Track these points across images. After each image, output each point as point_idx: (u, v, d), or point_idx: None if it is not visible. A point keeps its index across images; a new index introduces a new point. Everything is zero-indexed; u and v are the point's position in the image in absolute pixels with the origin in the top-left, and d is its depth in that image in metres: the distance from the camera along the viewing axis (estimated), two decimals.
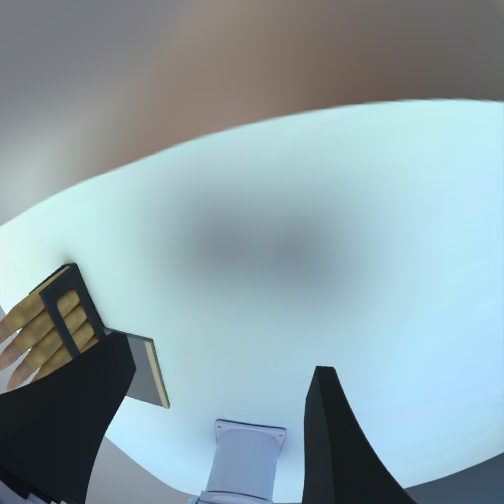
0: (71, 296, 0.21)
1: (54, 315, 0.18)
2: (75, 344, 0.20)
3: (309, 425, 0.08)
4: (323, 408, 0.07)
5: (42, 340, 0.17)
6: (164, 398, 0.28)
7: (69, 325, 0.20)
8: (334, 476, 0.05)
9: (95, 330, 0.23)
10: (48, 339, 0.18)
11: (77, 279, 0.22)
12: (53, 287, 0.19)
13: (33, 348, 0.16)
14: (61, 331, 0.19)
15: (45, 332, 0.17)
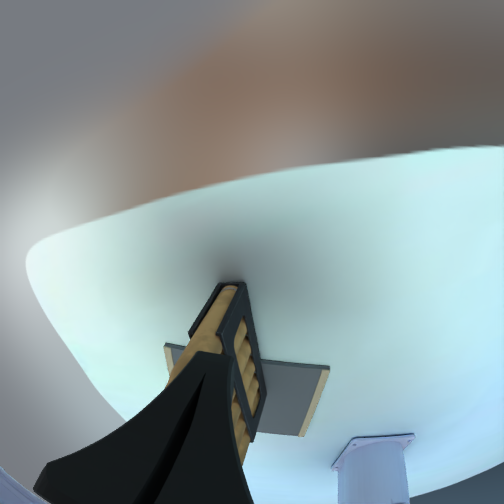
0: (240, 328, 0.17)
1: None
2: (245, 392, 0.16)
3: None
4: (200, 392, 0.07)
5: None
6: (307, 426, 0.24)
7: (240, 369, 0.16)
8: (179, 457, 0.05)
9: (256, 367, 0.19)
10: None
11: (246, 304, 0.18)
12: (231, 321, 0.15)
13: None
14: (235, 380, 0.15)
15: None
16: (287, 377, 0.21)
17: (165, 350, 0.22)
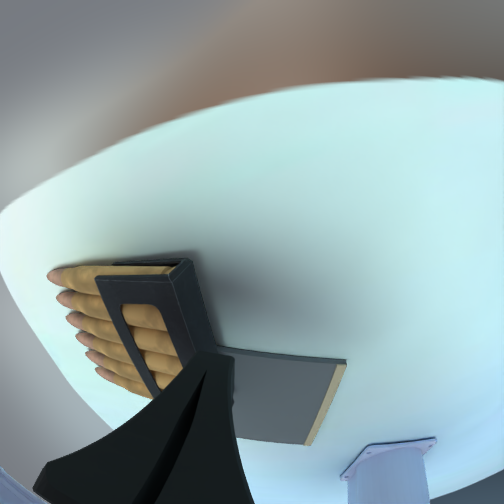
0: (154, 316, 0.13)
1: (113, 314, 0.14)
2: (144, 362, 0.15)
3: None
4: (200, 393, 0.07)
5: (106, 320, 0.16)
6: (315, 434, 0.19)
7: (141, 341, 0.14)
8: (179, 457, 0.05)
9: None
10: (109, 326, 0.15)
11: (168, 303, 0.12)
12: (114, 285, 0.13)
13: None
14: (125, 336, 0.15)
15: (102, 318, 0.15)
16: (291, 375, 0.16)
17: None
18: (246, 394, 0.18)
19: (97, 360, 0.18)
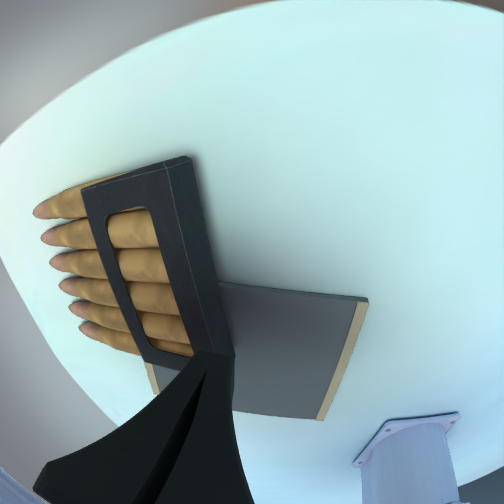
0: (143, 224, 0.11)
1: (97, 233, 0.12)
2: (129, 297, 0.13)
3: None
4: (200, 393, 0.07)
5: (90, 252, 0.14)
6: (329, 404, 0.17)
7: (126, 266, 0.12)
8: (179, 457, 0.05)
9: (183, 313, 0.12)
10: (93, 257, 0.13)
11: (160, 199, 0.10)
12: (101, 190, 0.11)
13: (81, 251, 0.14)
14: (109, 263, 0.13)
15: (86, 246, 0.13)
16: (304, 318, 0.15)
17: None
18: (250, 348, 0.16)
19: (80, 311, 0.16)
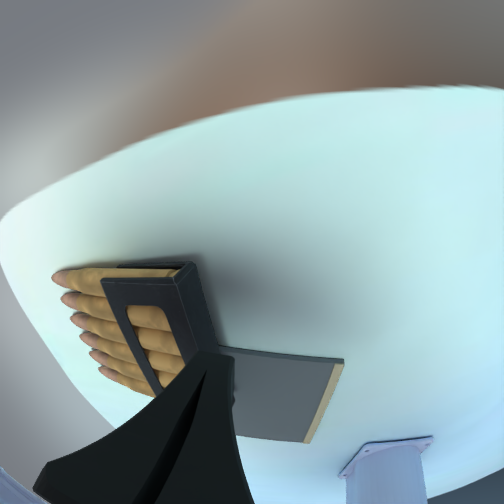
0: (159, 317, 0.14)
1: (118, 315, 0.14)
2: (147, 361, 0.16)
3: None
4: (200, 393, 0.07)
5: (110, 321, 0.16)
6: (314, 432, 0.20)
7: (145, 341, 0.15)
8: (179, 457, 0.05)
9: None
10: (114, 327, 0.16)
11: (172, 305, 0.13)
12: (120, 287, 0.13)
13: None
14: (129, 336, 0.15)
15: (107, 319, 0.15)
16: (291, 374, 0.17)
17: None
18: (247, 392, 0.18)
19: (101, 360, 0.18)
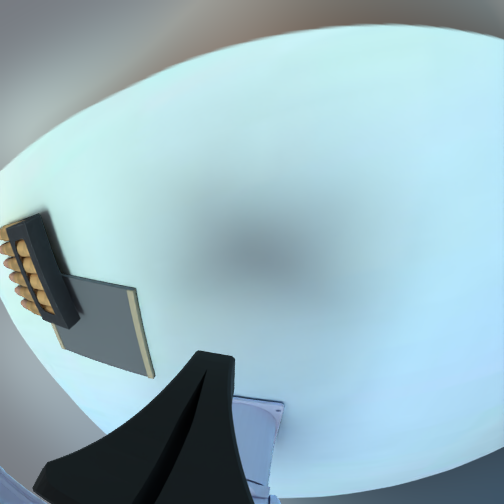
0: (25, 246, 0.19)
1: (13, 249, 0.20)
2: (28, 281, 0.21)
3: None
4: (201, 392, 0.07)
5: (16, 258, 0.22)
6: (148, 364, 0.26)
7: (25, 265, 0.21)
8: (179, 457, 0.05)
9: (44, 289, 0.21)
10: (16, 260, 0.22)
11: (26, 236, 0.18)
12: (11, 230, 0.19)
13: (13, 257, 0.22)
14: (20, 264, 0.21)
15: (12, 255, 0.21)
16: (106, 298, 0.23)
17: None
18: (90, 315, 0.24)
19: (17, 291, 0.24)
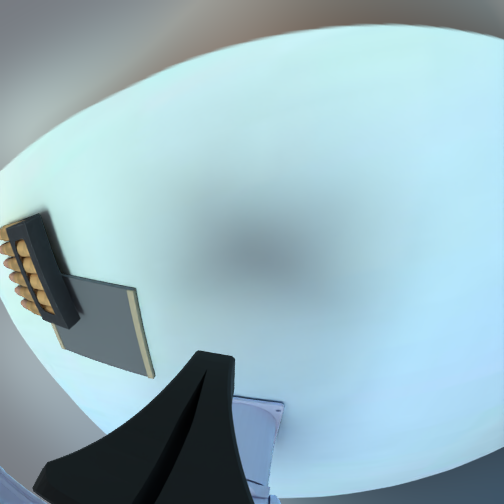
0: (25, 246, 0.19)
1: (13, 249, 0.20)
2: (28, 281, 0.21)
3: None
4: (201, 392, 0.07)
5: (16, 258, 0.22)
6: (148, 364, 0.26)
7: (25, 265, 0.21)
8: (179, 457, 0.05)
9: (44, 289, 0.21)
10: (16, 260, 0.22)
11: (26, 236, 0.18)
12: (11, 230, 0.19)
13: (13, 257, 0.22)
14: (20, 264, 0.21)
15: (12, 255, 0.21)
16: (106, 298, 0.23)
17: None
18: (90, 315, 0.24)
19: (17, 291, 0.24)
